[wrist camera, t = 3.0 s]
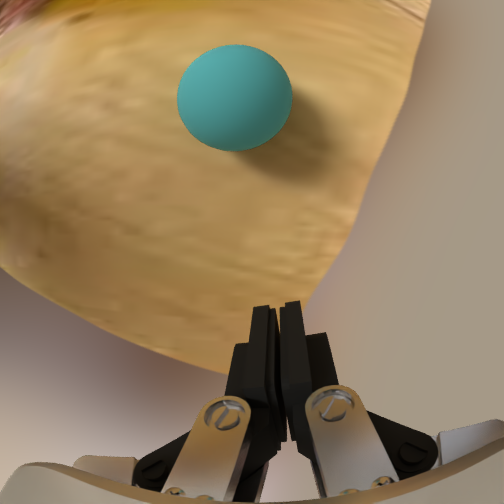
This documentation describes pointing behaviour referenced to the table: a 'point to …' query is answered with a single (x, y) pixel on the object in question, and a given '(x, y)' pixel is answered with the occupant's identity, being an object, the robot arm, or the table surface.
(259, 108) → the ball
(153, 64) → the table surface
